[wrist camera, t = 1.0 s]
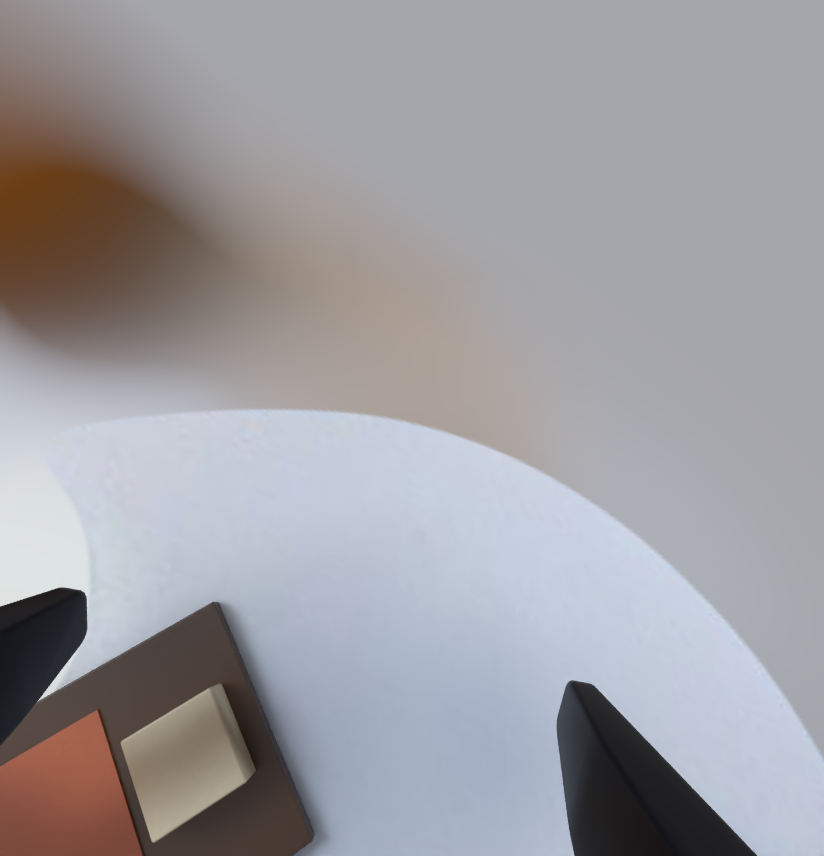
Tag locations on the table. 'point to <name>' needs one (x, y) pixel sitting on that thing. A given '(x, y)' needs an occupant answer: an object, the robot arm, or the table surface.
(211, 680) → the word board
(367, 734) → the table surface
